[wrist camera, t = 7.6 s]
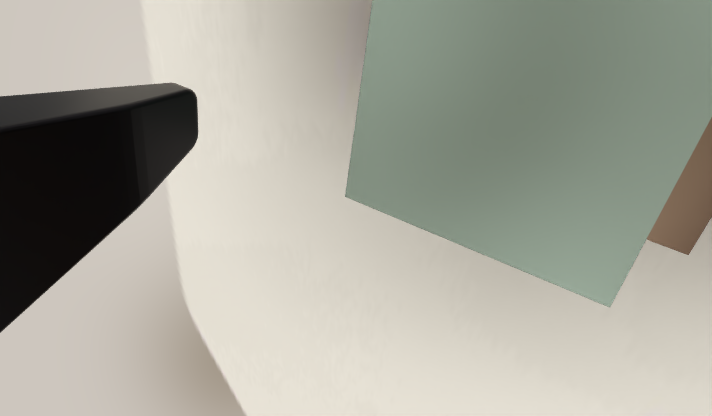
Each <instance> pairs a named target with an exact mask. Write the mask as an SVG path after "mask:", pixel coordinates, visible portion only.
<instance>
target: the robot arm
mask: <svg viewBox="0 0 712 416" xmlns="http://www.w3.org/2000/svg"><path fill="white" fill-rule="evenodd" d="M197 138H198V108H197V97H196V94H195V93H194V92H193V91H192V90H191V89H188V88H186V87H183V86H181V85H178V84H176V83H162V84H149V85H137V86H125V87H112V88H100V89H88V90H75V91H63V92H51V93H39V94H26V95H13V96H1V97H0V332H2V331H3V330H4V329H5V328H6V327H7V326H8V325H9V324H10V323H11V322H13V321H14V320H15V319H16V318H17V317H18V316H19V315H20V314H22V313H23V312H24V311H25V310H26V309H27V308H28V307H29V306H30V305H31V304H32V303H34V302H35V301H36V300H37V299H38V298H39V297H40V296H41V295H43V293H45V292H46V291H47V290H48V289H49V288H50V287H51V286H53V284H55V283H56V282H57V281H58V280H59V279H60V278H61V277H62V276H64V275H65V274H66V273H67V272H68V271H69V270H70V269H71V268H72V267H73V266H75V265H76V264H77V263H78V262H79V261H80V260H81V259H82V258H83V257H85V256H86V255H87V254H88V253H89V252H90V251H91V250H92V249H93V248H94V247H96V246H97V245H98V244H99V243H100V242H101V241H102V240H103V239H105V237H106V236H108V235H109V234H110V233H111V232H112V231H113V230H114V229H115V228H117V227H118V226H119V225H120V224H121V223H122V222H123V221H124V220H126V219H127V218H128V217H129V216H130V215H131V214H132V213H133V212H134V211H135V210H136V209H137V208H138V207H139V206H140V205H141V204H142V203H143V202H144V201H145V200H146V199H147V198H148V197H149V196H150V195H151V194H152V193H153V192H154V190H155V189H156V188H157V187H158V186H159V185H160V184H161V183H162V182H163V180H164V179H165V178H166V177H167V176H168V175H169V174H170V173H171V172H172V170H173V169H174V168H175V167H176V166H177V165H178V164H179V163H180V162H181V160H182V159H183V158H184V157H185V156H186V155H187V154H188V153H189V151H190V150H191V149H192V148H193V147H194V145H195V143H196V141H197Z"/></svg>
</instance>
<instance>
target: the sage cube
mask: <svg viewBox="0 0 712 416" xmlns="http://www.w3.org/2000/svg"><path fill="white" fill-rule="evenodd" d="M711 117H712V0H372V8H371V15H370V22H369V29H368V36H367V43H366V51H365V58H364V65H363V72H362V79H361V86H360V94H359V101H358V108H357V115H356V122H355V130H354V137H353V144H352V151H351V158H350V165H349V173H348V180H347V187H346V194H345V197H347V198H350V199H352V200H354V201H357V202H359V203H362V204H364V205H366V206H369V207H371V208H373V209H376V210H378V211H381V212H383V213H385V214H388V215H390V216H393V217H395V218H397V219H400V220H402V221H404V222H407V223H409V224H412V225H414V226H416V227H419V228H421V229H424V230H426V231H428V232H431V233H433V234H436V235H438V236H440V237H443V238H445V239H447V240H450V241H452V242H455V243H457V244H459V245H462V246H464V247H467V248H469V249H471V250H474V251H476V252H478V253H481V254H483V255H486V256H488V257H490V258H493V259H495V260H498V261H500V262H502V263H505V264H507V265H510V266H512V267H514V268H517V269H519V270H521V271H524V272H526V273H529V274H531V275H533V276H536V277H538V278H541V279H543V280H545V281H548V282H550V283H553V284H555V285H557V286H560V287H562V288H564V289H567V290H569V291H572V292H574V293H576V294H579V295H581V296H584V297H586V298H588V299H591V300H593V301H595V302H598V303H600V304H603V305H605V306H607V307H610V306H611V304H612V303H613V301H614V299H615V297H616V295H617V293H618V291H619V290H620V288H621V286H622V284H623V282H624V280H625V278H626V276H627V275H628V273H629V271H630V269H631V267H632V265H633V263H634V261H635V260H636V258H637V256H638V254H639V252H640V250H641V248H642V246H643V245H644V243H645V241H646V239H647V237H648V235H649V233H650V232H651V230H652V228H653V226H654V224H655V222H656V220H657V218H658V217H659V215H660V213H661V211H662V209H663V207H664V205H665V203H666V202H667V200H668V198H669V196H670V194H671V192H672V190H673V188H674V187H675V185H676V183H677V181H678V179H679V177H680V175H681V173H682V172H683V170H684V168H685V166H686V164H687V162H688V160H689V159H690V157H691V155H692V153H693V151H694V149H695V147H696V145H697V144H698V142H699V140H700V138H701V136H702V134H703V132H704V130H705V129H706V127H707V125H708V123H709V121H710V119H711Z"/></svg>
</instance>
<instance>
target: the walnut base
mask: <svg viewBox="0 0 712 416" xmlns="http://www.w3.org/2000/svg"><path fill="white" fill-rule="evenodd" d="M711 217H712V117H711V119H710V121H709V123H708V125H707V127H706V129H705V130H704V132H703V134H702V136H701V138H700V140H699V142H698V144H697V145H696V147H695V149H694V151H693V153H692V155H691V157H690V159H689V160H688V162H687V164H686V166H685V168H684V170H683V172H682V173H681V175H680V177H679V179H678V181H677V183H676V185H675V187H674V188H673V190H672V192H671V194H670V196H669V198H668V200H667V202H666V203H665V205H664V207H663V209H662V211H661V213H660V215H659V217H658V218H657V220H656V222H655V224H654V226H653V228H652V230H651V232H650V233H649V235H648V237H647V240H650V241H652V242H655V243H658V244H660V245H663V246H666V247H668V248H671V249H674V250H676V251H679V252H681V253H684V254H687V255H689V253H690V252H691V250H692V248H693V247H694V245H695V243H696V242H697V240H698V239H699V237H700V235H701V234H702V232H703V230H704V229H705V227H706V225H707V224H708V222H709V220H710V219H711Z"/></svg>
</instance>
